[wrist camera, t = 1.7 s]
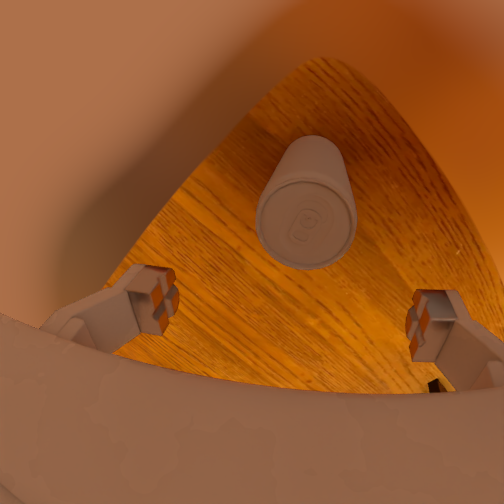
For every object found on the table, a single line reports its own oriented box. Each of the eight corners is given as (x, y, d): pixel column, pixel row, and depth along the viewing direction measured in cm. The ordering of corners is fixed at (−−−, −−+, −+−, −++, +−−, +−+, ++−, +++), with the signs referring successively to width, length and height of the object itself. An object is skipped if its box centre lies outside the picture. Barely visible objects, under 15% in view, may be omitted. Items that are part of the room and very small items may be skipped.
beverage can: (353, 151, 22) (379, 207, 12) (326, 201, 25) (326, 287, 15) (298, 123, 22) (277, 155, 12) (274, 175, 25) (237, 246, 15)
